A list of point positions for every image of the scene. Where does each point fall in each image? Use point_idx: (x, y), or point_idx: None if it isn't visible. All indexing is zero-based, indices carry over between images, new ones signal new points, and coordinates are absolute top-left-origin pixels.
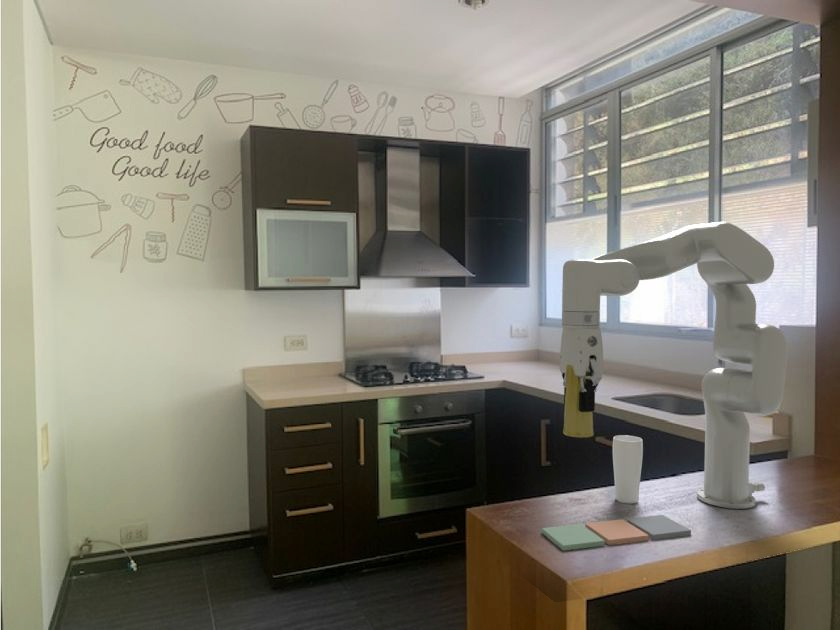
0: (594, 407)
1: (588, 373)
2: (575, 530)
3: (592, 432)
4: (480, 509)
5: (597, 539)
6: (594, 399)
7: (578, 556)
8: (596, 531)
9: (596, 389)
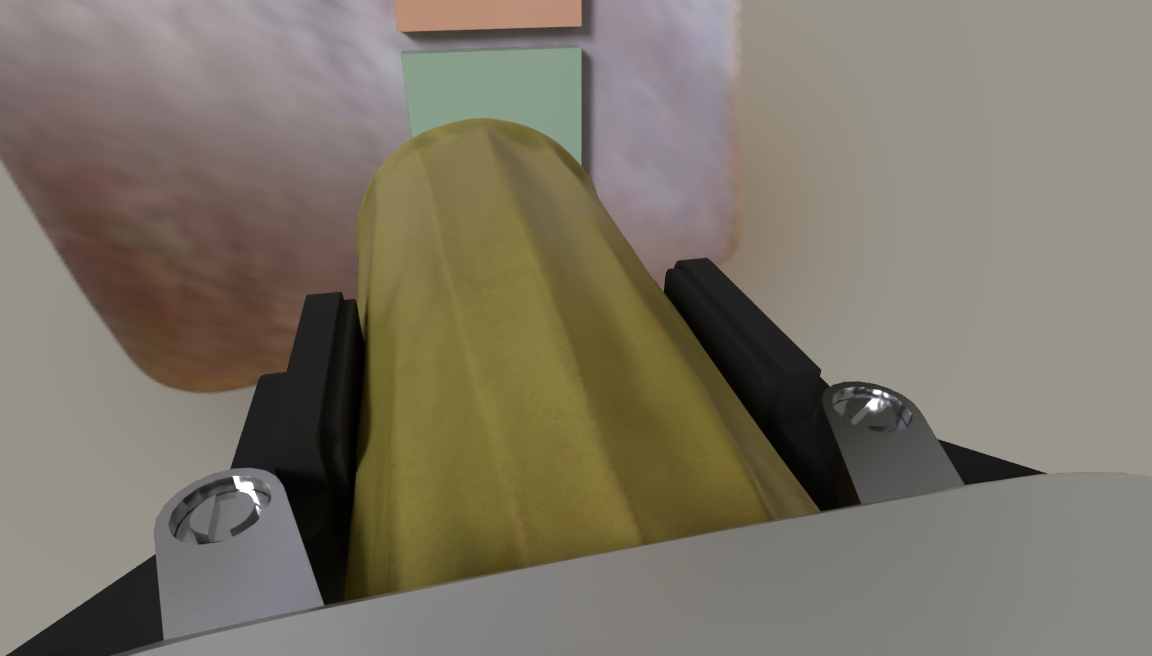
0: (718, 270)
1: None
2: (466, 112)
3: (564, 158)
4: (152, 365)
5: (566, 70)
6: (764, 318)
7: (625, 178)
8: (490, 28)
9: (913, 403)
